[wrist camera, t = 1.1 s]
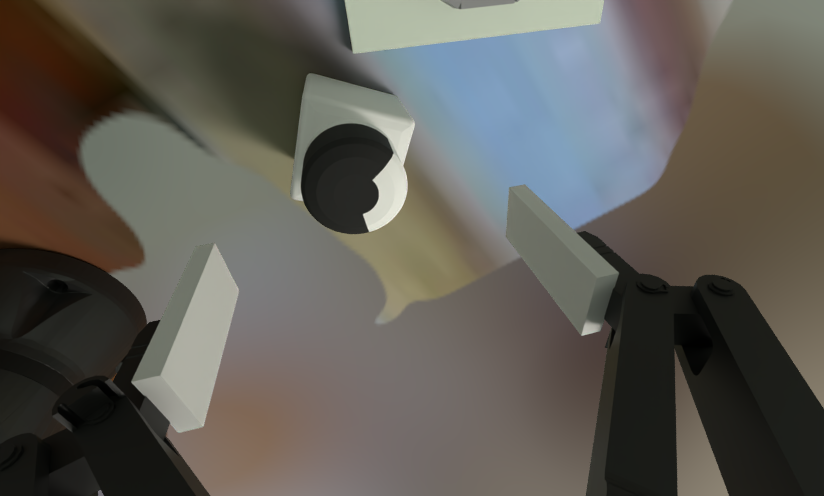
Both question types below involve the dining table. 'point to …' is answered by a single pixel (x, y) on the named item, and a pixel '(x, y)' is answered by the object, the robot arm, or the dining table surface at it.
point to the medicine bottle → (350, 155)
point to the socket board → (458, 20)
